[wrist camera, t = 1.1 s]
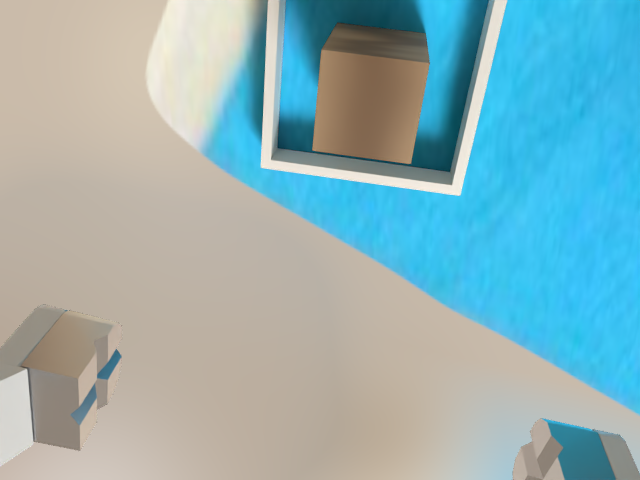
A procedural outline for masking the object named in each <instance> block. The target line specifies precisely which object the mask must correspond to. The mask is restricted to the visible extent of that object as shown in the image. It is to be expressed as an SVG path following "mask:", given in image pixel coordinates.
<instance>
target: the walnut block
mask: <svg viewBox="0 0 640 480" xmlns="http://www.w3.org/2000/svg"><path fill="white" fill-rule="evenodd" d="M429 64H430V62H429V54H428V46H427V39H426V33H419V32H411V31H402V30H394V29H386V28H378V27H370V26H362V25H353V24H345V23H337V24H336V26H335V27H334V29H333V31H332V32H331V34H330V36H329V38H328V39H327V41H326V43H325V44H324V46H323V48H322V50H321V60H320V71H319V82H318V93H317V104H316V115H315V126H314V137H313V148H312V151H319V152H326V153H333V154H340V155H348V156H355V157H362V158H370V159H377V160H384V161H392V162H399V163H406V164H411V161H412V155H413V150H414V145H415V139H416V134H417V129H418V123H419V118H420V112H421V107H422V102H423V96H424V91H425V86H426V80H427V75H428V70H429Z"/></svg>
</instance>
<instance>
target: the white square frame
mask: <svg viewBox="0 0 640 480" xmlns="http://www.w3.org/2000/svg"><path fill="white" fill-rule="evenodd" d="M506 3H507V0H489V2H488V6H487V11H486V15H485V20H484V24H483V28H482V33H481V37H480V42H479V46H478V51H477V55H476V59H475V64H474V68H473V73H472V77H471V82H470V86H469V90H468V95H467V99H466V104H465V108H464V113H463V117H462V121H461V126H460V130H459V135H458V139H457V144H456V148H455V152H454V157H453V161H452V166H451V170H450V172H446V171H439V170H432V169H425V168H417V167H410V166H403V165H396V164H389V163H381V162H374V161H367V160H360V159H352V158H345V157H338V156H331V155H323V154H316V153H309V152H302V151H294V150H287V149H280V148H277V145H278V128H279V110H280V93H281V76H282V58H283V41H284V24H285V7H286V0H268V13H267V36H266V59H265V83H264V106H263V129H262V152H261V168H266V169H273V170H280V171H287V172H294V173H302V174H309V175H316V176H323V177H330V178H337V179H344V180H351V181H358V182H365V183H373V184H380V185H387V186H394V187H401V188H408V189H415V190H422V191H429V192H437V193H444V194H451V195H458V196H460V194H461V190H462V186H463V181H464V177H465V173H466V169H467V165H468V161H469V156H470V152H471V148H472V144H473V140H474V136H475V132H476V127H477V123H478V119H479V115H480V111H481V107H482V103H483V98H484V94H485V90H486V86H487V82H488V78H489V73H490V69H491V65H492V61H493V57H494V53H495V49H496V44H497V40H498V36H499V32H500V28H501V24H502V20H503V15H504V11H505V7H506Z"/></svg>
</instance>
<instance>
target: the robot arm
mask: <svg viewBox="0 0 640 480" xmlns="http://www.w3.org/2000/svg"><path fill="white" fill-rule="evenodd" d="M121 340H122V325H121V324H120V323H118V322H114V321H110V320H106V319H103V318H99V317H95V316H90V315H87V314H83V313H79V312H74V311H70V310H69V311H68V310H64V309H60V308H56V307H52V306H48V305H45V304H43V305H41V306H39V307H37V308H36V309H34V311H33V312H32V313H31V314H30V315H29V316H28V317H27V318H26V319H25V321H24V322H23V323H22V324H21V325H20V326H19V327H18V328H17V329H16V330H15V332H14V333H13V334H12V335H11V336H10V337H9V338H8V339H7V341H6V342H5V343H4V344H3V345H2V346H1V347H0V466H2V465H3V464H5V463H6V462H8V461H9V460H11V459H12V458H14V457H15V456H17V455H18V454H20V453H21V452H23V451H24V450H26V449H27V448H29V447H30V446H32V445H33V444H34V442H38V443H43V444H48V445H53V446H59V447H64V448H69V449H74V450H79V451H80V450H81V449H82V447H83V445H84V443H85V442H86V440H87V438H88V436H89V435H90V433H91V432H92V430H93V428H94V426H95V424H96V423H97V409H99V408H101V407H103V406H105V405H107V404H108V402H109V400H110V398H111V396H112V395H113V393H114V390H115V388H116V385H117V382H118V380H119V376H120V370H121V361H122V357H121V355H120V353H119V352H118V351H117V349H116V348H117V346H118V345H119V343H120V341H121ZM530 433H531V437H532V442H530V443H529V444H526V445H524V446H522V447H521V449H520V451H519V453H518V455H517V457H516V459H515V463H514V468H513V480H640V473H639V471H638V469H637V467H636V464H635V462H634V460H633V458H632V456H631V453H630V451H629V449H628V446H627V444H626V442H625V440H624V439H623V438H622V437H621V436H620V435H618V434H613V433H608V432H604V431H598V430H594V429H593V430H591V429H588V428H584V427H579V426H574V425H570V424H565V423H560V422H556V421H551V420H546V419H542V418H541V419H539V420H538V421H537V422H535V424H534V425H533V427H532V429H531V431H530Z"/></svg>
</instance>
